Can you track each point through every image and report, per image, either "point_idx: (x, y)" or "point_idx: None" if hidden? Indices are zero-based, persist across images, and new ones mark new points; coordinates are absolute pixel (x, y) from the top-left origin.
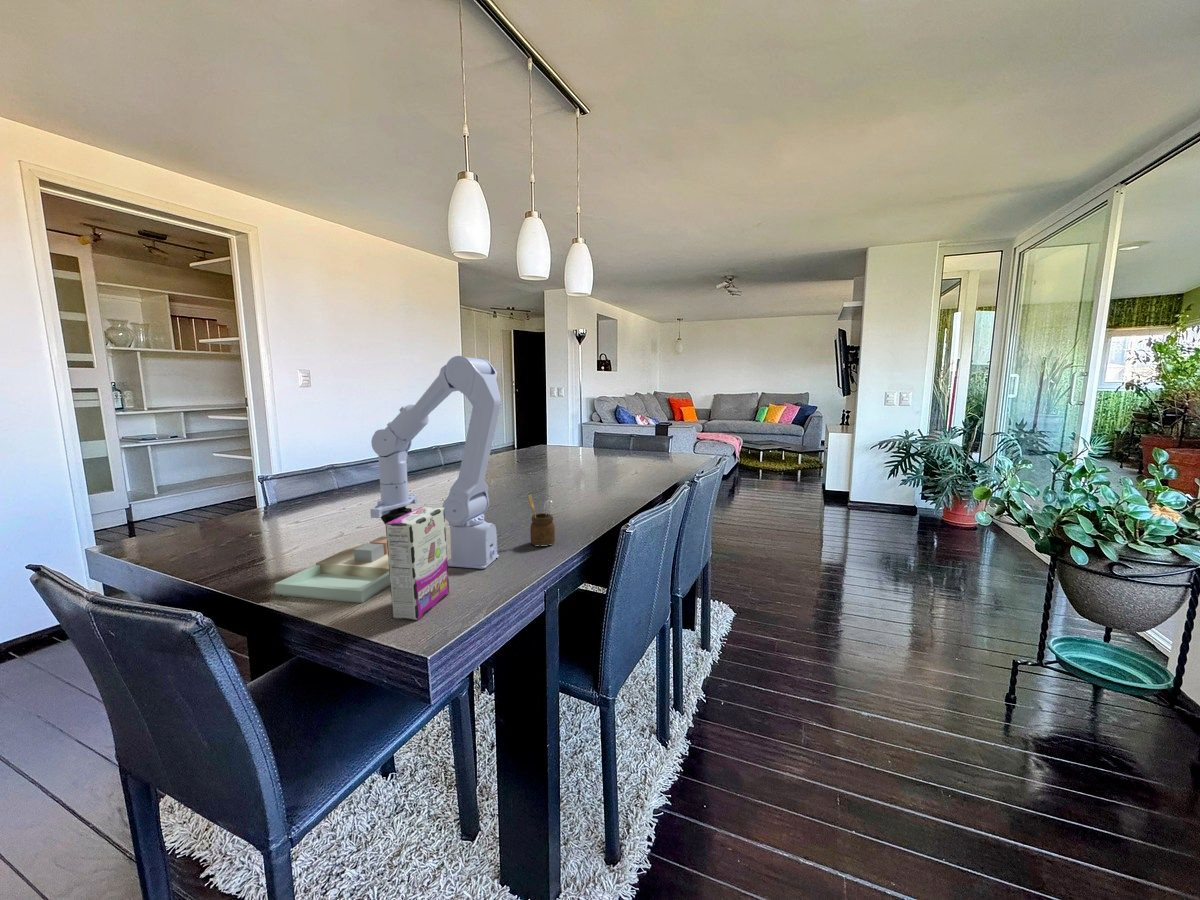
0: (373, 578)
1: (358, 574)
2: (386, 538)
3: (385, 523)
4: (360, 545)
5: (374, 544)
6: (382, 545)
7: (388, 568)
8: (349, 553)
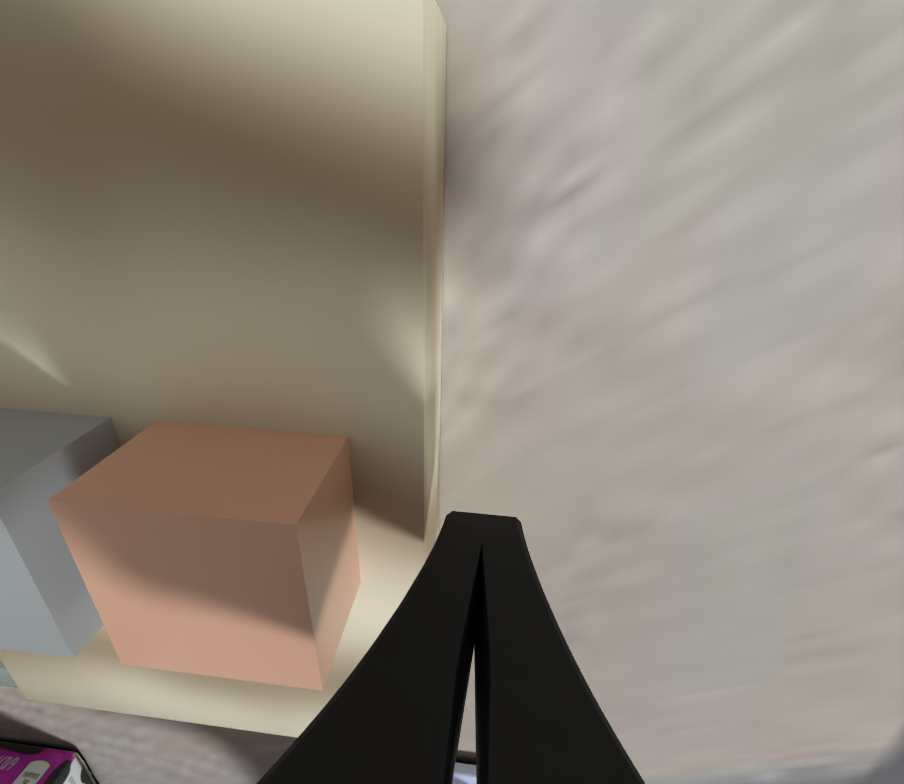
0: None
1: None
2: (246, 611)
3: (292, 764)
4: (338, 95)
5: (22, 587)
6: (66, 649)
7: (8, 670)
8: (31, 186)
